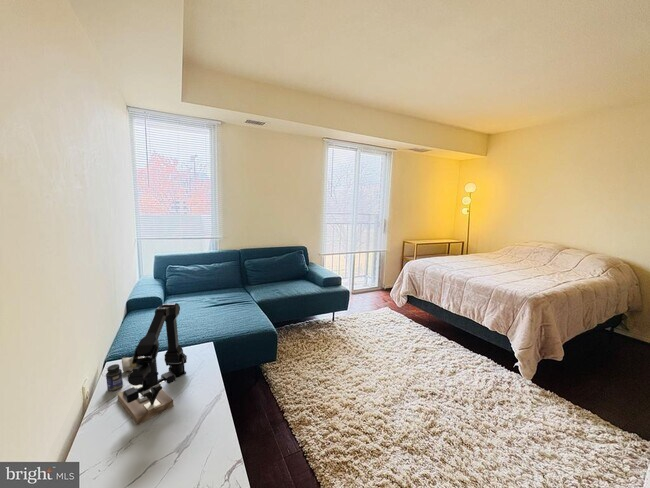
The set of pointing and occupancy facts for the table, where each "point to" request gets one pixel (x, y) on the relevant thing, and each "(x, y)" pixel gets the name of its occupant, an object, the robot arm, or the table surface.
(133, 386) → the two pip button
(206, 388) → the table surface
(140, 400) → the three pip button
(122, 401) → the board
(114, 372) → the pill bottle
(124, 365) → the ceramic sculpture
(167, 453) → the table surface
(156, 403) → the one pip button
